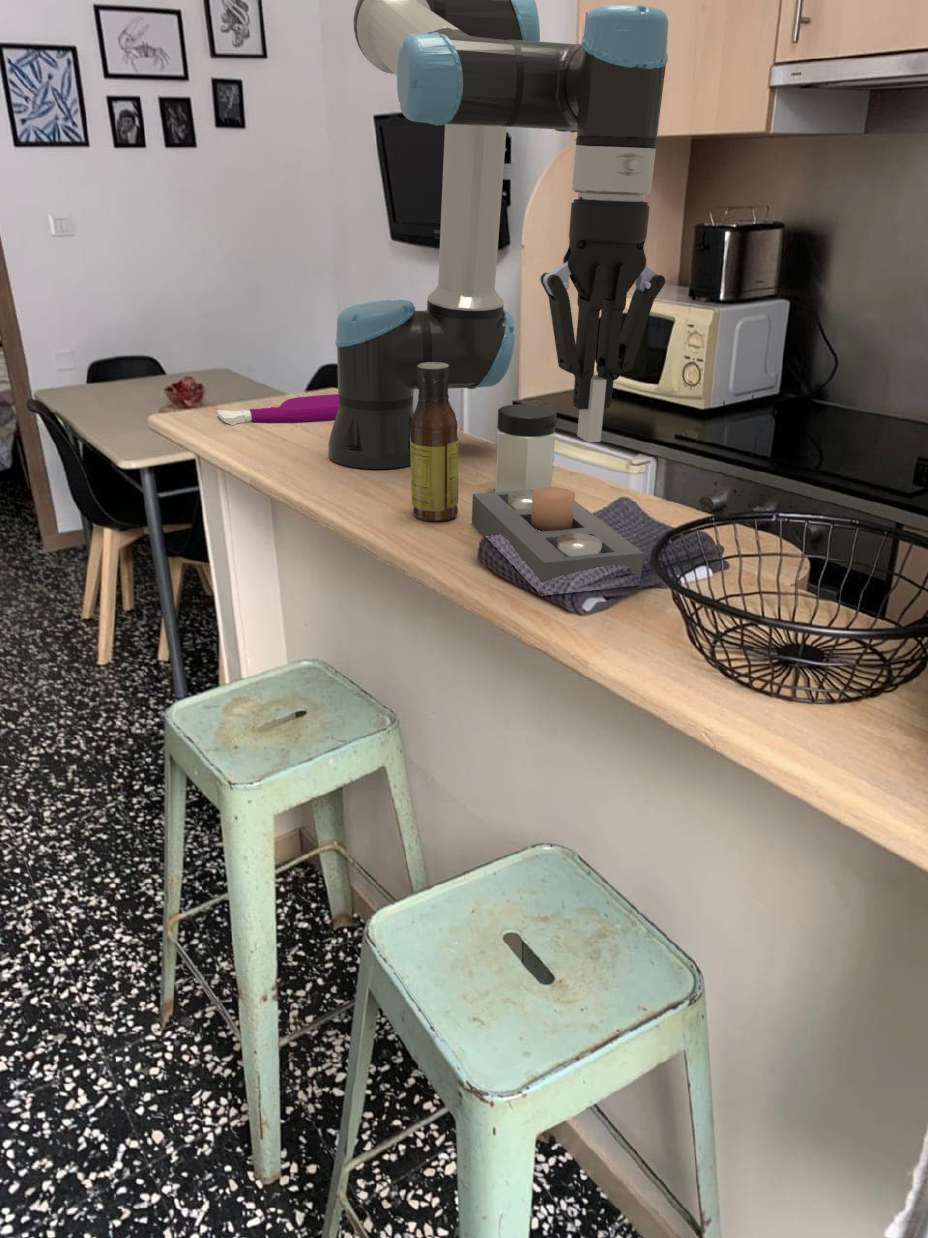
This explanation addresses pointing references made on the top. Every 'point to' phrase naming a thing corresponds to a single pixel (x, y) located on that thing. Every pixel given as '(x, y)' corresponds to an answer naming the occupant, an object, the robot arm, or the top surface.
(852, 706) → the top surface
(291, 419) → the spray bottle
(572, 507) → the middle knob
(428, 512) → the sauce bottle
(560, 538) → the knob
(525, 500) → the knob
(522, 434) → the jar
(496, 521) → the knob mount
